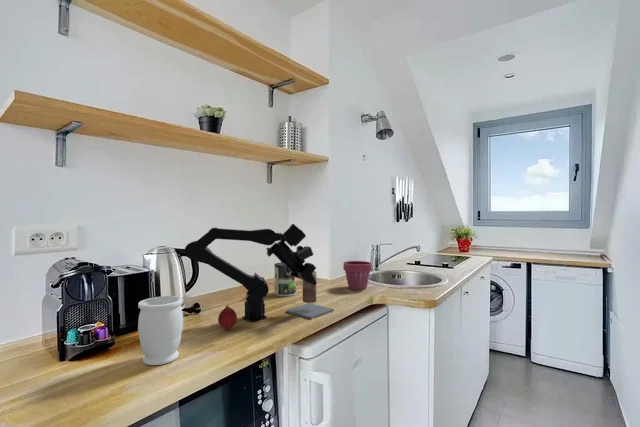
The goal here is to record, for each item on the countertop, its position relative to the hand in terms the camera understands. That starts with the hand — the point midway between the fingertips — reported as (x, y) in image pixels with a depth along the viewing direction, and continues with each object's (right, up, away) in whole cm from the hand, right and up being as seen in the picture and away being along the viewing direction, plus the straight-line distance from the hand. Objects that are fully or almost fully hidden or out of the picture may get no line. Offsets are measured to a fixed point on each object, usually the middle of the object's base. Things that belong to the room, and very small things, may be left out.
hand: (312, 282), depth 124 cm
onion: (-27, -11, -20) cm, 35 cm away
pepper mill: (-1, -7, -1) cm, 7 cm away
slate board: (-1, -11, -1) cm, 11 cm away
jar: (-38, -11, -41) cm, 57 cm away
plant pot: (+22, -11, +40) cm, 47 cm away
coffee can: (-13, -11, +28) cm, 33 cm away
